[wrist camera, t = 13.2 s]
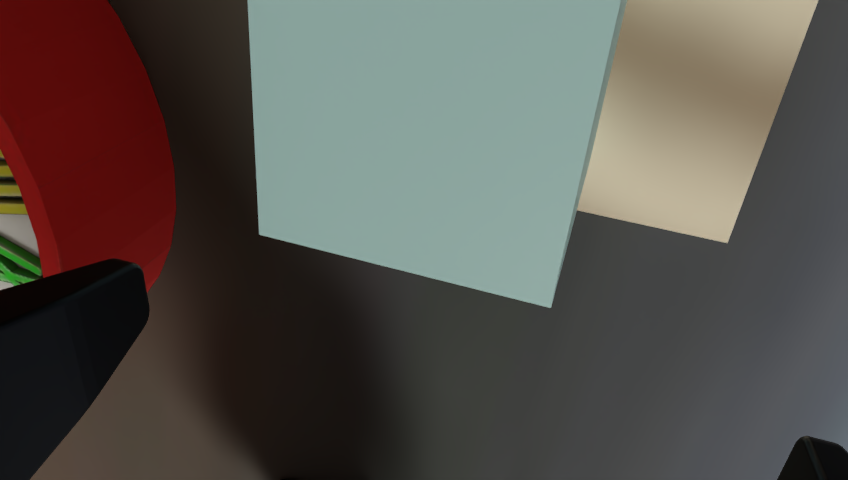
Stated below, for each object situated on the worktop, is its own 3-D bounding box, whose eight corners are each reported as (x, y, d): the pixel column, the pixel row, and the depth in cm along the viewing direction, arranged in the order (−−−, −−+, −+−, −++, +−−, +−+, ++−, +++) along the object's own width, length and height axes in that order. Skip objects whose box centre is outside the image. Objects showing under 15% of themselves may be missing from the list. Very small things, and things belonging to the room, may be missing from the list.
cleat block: (589, 161, 18) (550, 307, 13) (380, 119, 20) (258, 234, 14) (657, -134, 15) (647, -117, 9) (395, -162, 16) (240, -162, 10)
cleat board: (724, 226, 19) (734, 293, 16) (273, 129, 22) (213, 172, 19) (879, -197, 14) (933, -206, 11) (261, -249, 17) (176, -267, 14)
